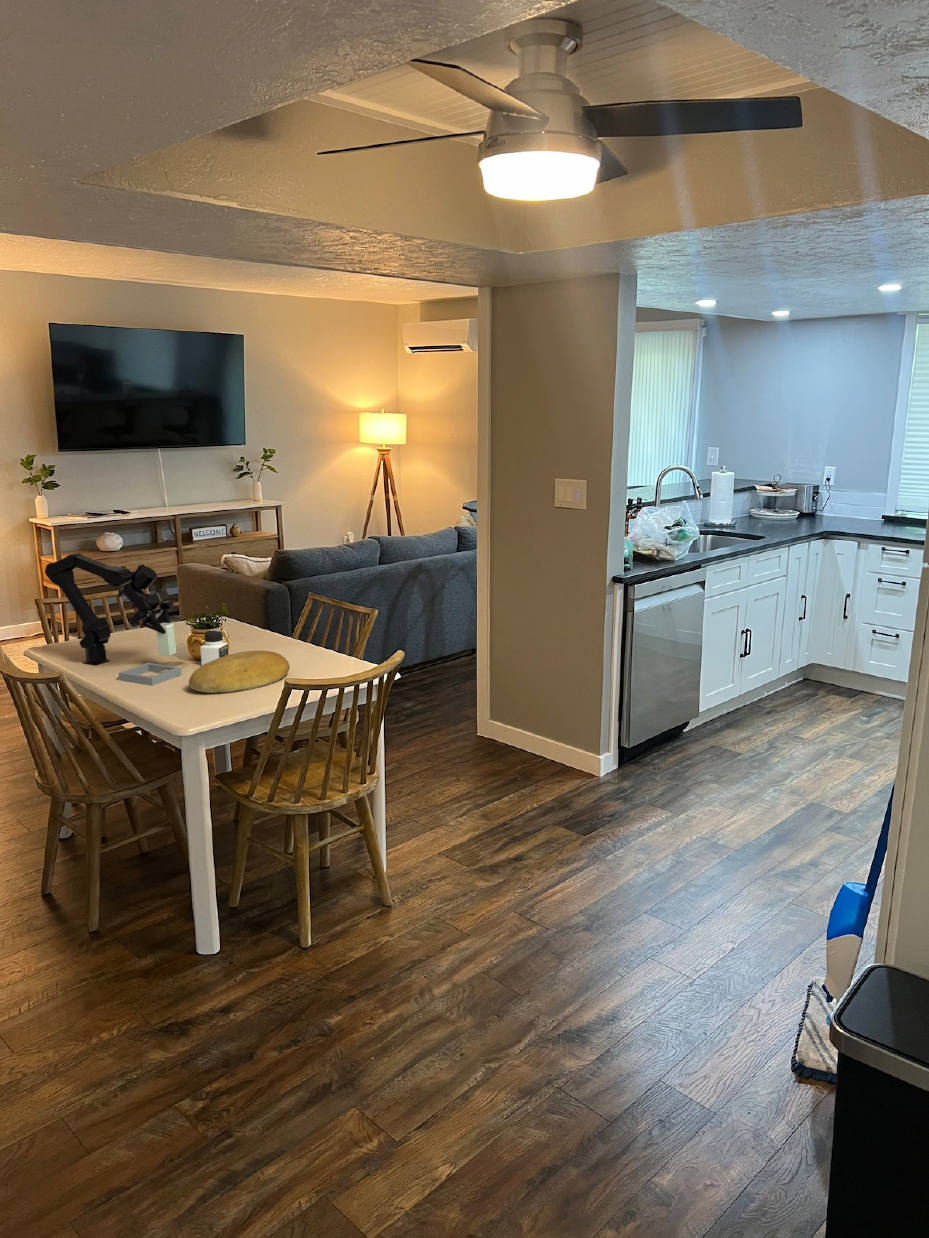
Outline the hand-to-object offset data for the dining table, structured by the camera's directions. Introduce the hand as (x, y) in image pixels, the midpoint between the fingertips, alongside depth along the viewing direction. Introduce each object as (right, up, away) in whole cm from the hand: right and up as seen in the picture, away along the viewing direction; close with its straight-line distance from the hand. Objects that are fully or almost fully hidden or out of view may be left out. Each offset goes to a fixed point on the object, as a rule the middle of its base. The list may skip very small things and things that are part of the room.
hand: (168, 631), depth 313 cm
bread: (+28, -17, -13) cm, 36 cm away
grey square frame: (-4, -15, -7) cm, 17 cm away
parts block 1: (-2, -17, -11) cm, 20 cm away
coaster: (-1, -12, +6) cm, 14 cm away
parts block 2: (+1, -15, -5) cm, 16 cm away
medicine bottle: (+14, -12, +9) cm, 20 cm away
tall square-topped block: (-1, -8, +2) cm, 8 cm away
